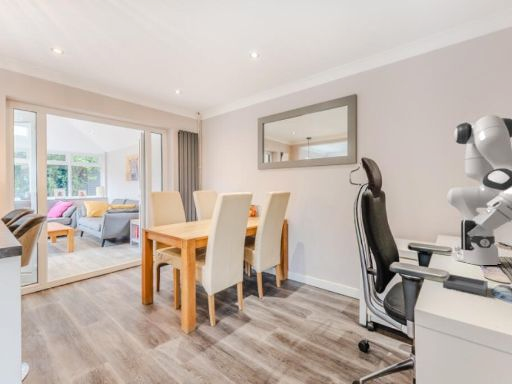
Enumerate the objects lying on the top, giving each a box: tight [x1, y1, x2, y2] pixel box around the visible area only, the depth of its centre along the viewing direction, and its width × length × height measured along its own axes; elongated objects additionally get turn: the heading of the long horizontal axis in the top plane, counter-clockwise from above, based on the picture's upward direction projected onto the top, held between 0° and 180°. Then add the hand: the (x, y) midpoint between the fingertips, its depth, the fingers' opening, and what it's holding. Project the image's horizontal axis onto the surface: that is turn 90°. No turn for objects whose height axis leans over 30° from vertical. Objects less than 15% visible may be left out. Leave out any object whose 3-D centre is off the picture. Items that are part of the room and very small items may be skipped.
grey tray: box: [442, 273, 488, 298], centre depth 92 cm, size 12×12×2 cm
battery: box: [460, 219, 476, 251], centre depth 95 cm, size 7×4×11 cm, turn 130°
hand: (466, 234), depth 96 cm, fingers closed on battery, 7 cm apart
